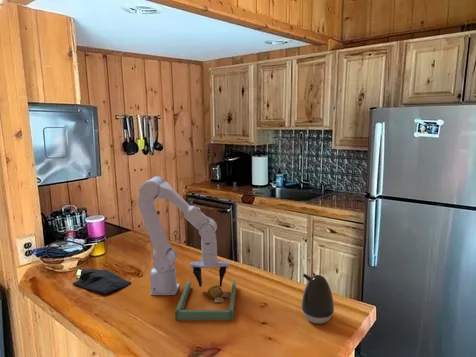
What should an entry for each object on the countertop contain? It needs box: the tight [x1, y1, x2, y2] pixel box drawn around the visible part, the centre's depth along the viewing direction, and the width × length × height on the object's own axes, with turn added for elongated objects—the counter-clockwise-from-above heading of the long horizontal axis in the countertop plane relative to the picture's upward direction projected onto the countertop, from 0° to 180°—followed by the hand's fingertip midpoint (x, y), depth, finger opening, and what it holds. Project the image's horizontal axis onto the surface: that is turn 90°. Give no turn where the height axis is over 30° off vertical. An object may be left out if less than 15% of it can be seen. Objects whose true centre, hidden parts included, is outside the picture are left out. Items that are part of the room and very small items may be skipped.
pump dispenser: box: [301, 273, 335, 325], centre depth 114 cm, size 10×10×15 cm
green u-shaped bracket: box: [174, 279, 237, 321], centre depth 127 cm, size 19×22×3 cm
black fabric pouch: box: [72, 268, 132, 294], centre depth 143 cm, size 15×22×5 cm
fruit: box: [206, 285, 231, 304], centre depth 131 cm, size 8×8×4 cm
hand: (210, 285), depth 134 cm, fingers open, 7 cm apart
